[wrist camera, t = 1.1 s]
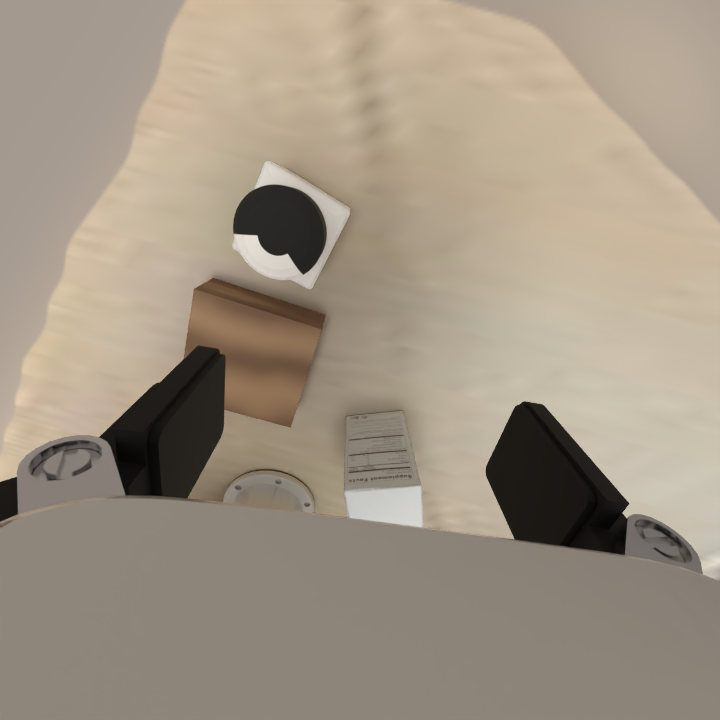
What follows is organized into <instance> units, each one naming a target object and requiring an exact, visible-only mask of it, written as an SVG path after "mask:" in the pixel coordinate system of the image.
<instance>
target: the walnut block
mask: <svg viewBox="0 0 720 720" xmlns="http://www.w3.org/2000/svg"><path fill="white" fill-rule="evenodd" d="M324 319H325V314H321V313H318V312H315V311H312V310H309V309H306V308H303V307H300V306H297V305H294V304H291V303H288V302H285V301H282V300H279V299H275V298H272V297H269V296H266V295H263V294H260V293H257V292H254V291H251V290H248V289H245V288H242V287H239V286H236V285H233V284H229V283H226V282H223V281H220V280H217V279H214V278H213V279H211V280H209V281H207V282H206V283H204V284H202V285H200V286H199V287H197V288H195V289H194V294H193V300H192V307H191V314H190V320H189V327H188V334H187V341H186V347H185V354H184V359H185V358H186V357H187V356H188V355H189V354H190V353H191V352H192V351H193V350H194V349H195V348H196V347H197V346H198V345H199V346H205V347H211V348H217V349H219V351H220V354H224V355H225V357H226V365H225V398H224V410H227V411H231V412H235V413H239V414H242V415H246V416H250V417H254V418H257V419H261V420H265V421H268V422H272V423H276V424H280V425H283V426H287V427H291V424H292V421H293V418H294V415H295V412H296V409H297V406H298V403H299V399H300V396H301V393H302V390H303V387H304V384H305V381H306V378H307V375H308V371H309V368H310V365H311V362H312V359H313V356H314V353H315V350H316V347H317V343H318V340H319V337H320V334H321V331H322V327H323V323H324Z"/></svg>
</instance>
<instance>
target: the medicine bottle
mask: <svg viewBox="0 0 720 720" xmlns="http://www.w3.org/2000/svg"><path fill="white" fill-rule="evenodd" d="M350 212H351V210H350V208H349V207H348V206H346V205H345V204H343V203H341V202H340V201H338V200H336V199H335V198H333V197H332V196H330V195H328V194H327V193H325V192H324V191H322V190H320V189H319V188H317V187H315V186H314V185H312V184H311V183H309V182H307V181H306V180H304V179H302V178H301V177H299V176H298V175H296V174H294V173H293V172H291V171H290V170H288V169H286V168H284V167H282V166H280V165H278V164H276V163H274V162H271V161H266V162H265V163H264V165H263V167H262V170H261V172H260V175H259V178H258V180H257V183H256V185H255V188H254V190H253V191H251V192H250V193H249V194H248V195H246V196H245V197H244V199H243V200H242V201H241V203H240V204H239V206H238V208H237V211H236V213H235V217H234V224H233V232H234V241H233V243H232V247H233V249H235V250H236V251H238V252H240V254H241V256H242V257H243V259H244V260H245V261H246V263H247V264H248V265H249V266H250V267H251V268H252V269H254V270H255V271H256V272H258V273H260V274H261V275H263V276H266V277H268V278H271V279H276V280H292V281H294V282H295V283H297V284H299V285H301V286H303V287H305V288H307V289H312V288H313V286H314V284H315V282H316V280H317V278H318V276H319V274H320V272H321V271H322V269H323V267H324V265H325V263H326V261H327V259H328V257H329V255H330V253H331V251H332V249H333V247H334V245H335V243H336V241H337V239H338V237H339V235H340V233H341V232H342V230H343V228H344V226H345V224H346V222H347V220H348V218H349V216H350Z"/></svg>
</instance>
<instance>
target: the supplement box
mask: <svg viewBox="0 0 720 720" xmlns="http://www.w3.org/2000/svg"><path fill="white" fill-rule="evenodd" d="M344 496H345V502H346V508H347V514H348V518H355V519H363V520H371V521H378V522H386V523H394V524H401V525H409V526H417V527H423V506H422V489H421V483H420V479H419V475H418V471H417V466H416V462H415V458H414V453H413V449H412V445H411V441H410V437H409V433H408V429H407V425H406V421H405V417H404V413H403V411H393V412H383V413H372V414H362V415H353V416H347V417H346V435H345V462H344Z"/></svg>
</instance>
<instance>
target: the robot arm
mask: <svg viewBox="0 0 720 720" xmlns="http://www.w3.org/2000/svg"><path fill="white" fill-rule="evenodd" d="M225 365H226V357H225V355H224V354H220V351H219V349H217V348H211V347H205V346H199V345H198V346H197V347H196V348H195V349H194V350H193V351H192V352H191V353H190V354H189V355H188V356H187V357H186V358H185V359H184V360H183V361H182V362H180V363H179V364H178V365H177V366H176V367H175V368H174V369H173V370H172V371H171V372H170V373H169V374H168V375H167V376H166V377H165V378H164V379H163V380H162V381H161V382H160V383H156V384H154V385H153V386H152V387H151V388H150V389H149V390H148V391H147V392H146V393H145V394H144V395H143V396H142V397H140V398H139V399H138V400H137V401H136V402H135V403H134V404H133V405H132V406H131V407H130V408H129V409H128V410H127V411H126V412H125V413H124V414H123V415H122V416H121V417H120V418H119V419H118V420H117V421H116V422H114V423H113V424H112V425H111V426H110V427H109V428H108V429H107V430H106V431H105V432H104V433H103V434H102V435H101V436H100V437H94V436H90V435H77V436H70V437H64V438H61V439H57V440H54V441H51V442H48V443H46V444H44V445H42V446H40V447H38V448H36V449H35V450H33V451H32V452H31V453H29V454H28V455H26V457H25V458H24V459H23V460H22V461H21V463H20V464H19V467H18V471H17V477H15V478H12V479H9V480H5V481H2V482H0V720H720V581H717V580H715V579H713V578H710V577H708V576H706V575H703V573H702V567H701V562H700V559H699V557H698V554H697V553H696V552H695V550H694V549H693V547H692V546H691V545H690V544H689V543H688V542H687V541H686V540H685V539H684V538H683V537H682V536H680V535H679V534H678V533H677V532H675V531H674V530H673V529H671V528H670V527H668V526H667V525H665V524H663V523H662V522H660V521H658V520H655V519H653V518H651V517H648V516H645V515H640V514H633V515H631V516H629V517H628V519H627V518H626V517H625V516H624V515H623V514H622V512H623V511H624V510H625V509H626V507H627V506H628V505H629V503H628V502H627V500H626V499H625V498H624V497H623V496H622V495H621V494H620V492H619V491H618V490H617V489H616V488H615V487H614V485H613V484H612V483H611V482H610V481H609V480H608V479H607V477H606V476H605V475H604V474H603V473H602V472H601V471H600V469H599V468H598V467H597V466H596V465H595V464H594V462H593V461H592V460H591V459H590V458H589V457H588V456H587V454H586V453H585V452H584V451H583V450H582V449H581V448H580V446H579V445H578V444H577V443H576V442H575V441H574V439H573V438H572V437H571V436H570V435H569V434H568V433H567V431H566V430H565V429H564V428H563V427H562V426H561V424H560V423H559V422H558V421H557V420H556V419H555V418H554V416H553V415H552V414H551V413H550V412H549V411H548V410H547V408H546V407H545V406H544V405H542V404H537V403H531V402H522V403H521V404H520V405H517V406H515V408H514V410H513V412H512V414H511V416H510V418H509V420H508V422H507V424H506V426H505V428H504V430H503V433H502V435H501V437H500V439H499V441H498V443H497V445H496V447H495V449H494V451H493V453H492V455H491V458H490V460H489V462H488V464H487V466H486V476H487V479H488V481H489V483H490V486H491V488H492V490H493V492H494V494H495V497H496V499H497V501H498V503H499V505H500V508H501V510H502V512H503V514H504V516H505V519H506V521H507V523H508V525H509V528H510V530H511V532H512V534H513V536H514V539H515V540H514V539H507V538H499V537H492V536H485V535H477V534H470V533H462V532H455V531H447V530H440V529H432V528H424V527H417V526H409V525H401V524H394V523H386V522H378V521H371V520H363V519H355V518H347V517H339V516H331V515H323V514H315V513H314V507H315V505H314V499H313V497H312V494H311V492H310V491H309V490H308V488H307V487H306V486H305V485H304V484H303V483H302V482H300V481H299V480H297V479H296V478H294V477H292V476H290V475H288V474H284V473H281V472H276V471H255V472H250V473H247V474H244V475H242V476H240V477H238V478H237V479H235V480H234V481H233V482H232V483H231V484H230V485H229V487H228V488H227V490H226V492H225V494H224V497H223V501H222V502H218V501H209V500H198V499H187V498H188V496H189V494H190V492H191V491H192V489H193V487H194V485H195V483H196V481H197V480H198V478H199V476H200V474H201V472H202V470H203V469H204V467H205V465H206V463H207V461H208V460H209V458H210V456H211V454H212V452H213V450H214V449H215V447H216V445H217V443H218V441H219V440H220V438H221V435H222V432H223V427H224V398H225Z"/></svg>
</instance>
